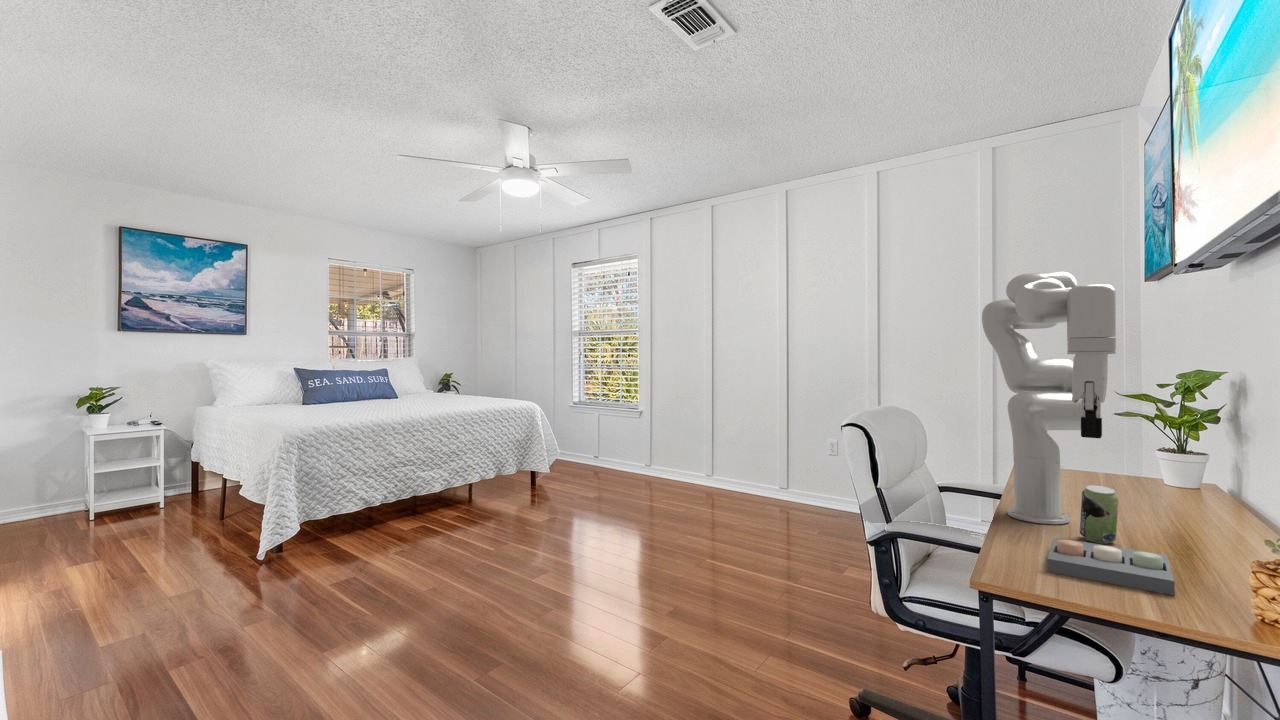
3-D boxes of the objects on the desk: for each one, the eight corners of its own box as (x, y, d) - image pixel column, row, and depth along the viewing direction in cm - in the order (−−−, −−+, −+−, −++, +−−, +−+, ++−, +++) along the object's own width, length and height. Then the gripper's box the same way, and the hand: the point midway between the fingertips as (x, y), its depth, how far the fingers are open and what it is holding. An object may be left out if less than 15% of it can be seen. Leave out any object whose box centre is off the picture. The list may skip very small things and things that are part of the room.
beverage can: (1102, 536, 121) (1100, 482, 121) (1128, 547, 113) (1127, 490, 114) (1072, 536, 121) (1070, 482, 122) (1096, 547, 114) (1094, 490, 114)
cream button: (1094, 563, 104) (1093, 544, 104) (1121, 568, 102) (1121, 548, 102) (1093, 569, 101) (1093, 549, 101) (1122, 574, 99) (1121, 554, 99)
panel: (1054, 548, 113) (1054, 537, 113) (1167, 567, 102) (1167, 554, 102) (1047, 571, 101) (1047, 558, 101) (1174, 595, 90) (1174, 581, 90)
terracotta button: (1058, 557, 108) (1057, 538, 108) (1084, 561, 105) (1083, 542, 105) (1056, 562, 105) (1056, 543, 105) (1083, 567, 102) (1082, 547, 102)
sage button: (1132, 570, 101) (1132, 550, 101) (1162, 575, 98) (1162, 554, 98) (1133, 576, 98) (1132, 555, 98) (1164, 582, 95) (1163, 560, 95)
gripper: (1070, 346, 117) (1071, 430, 117) (1063, 348, 106) (1064, 441, 107) (1117, 345, 112) (1117, 433, 112) (1114, 347, 101) (1114, 445, 101)
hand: (1091, 437), depth 109 cm, fingers closed
